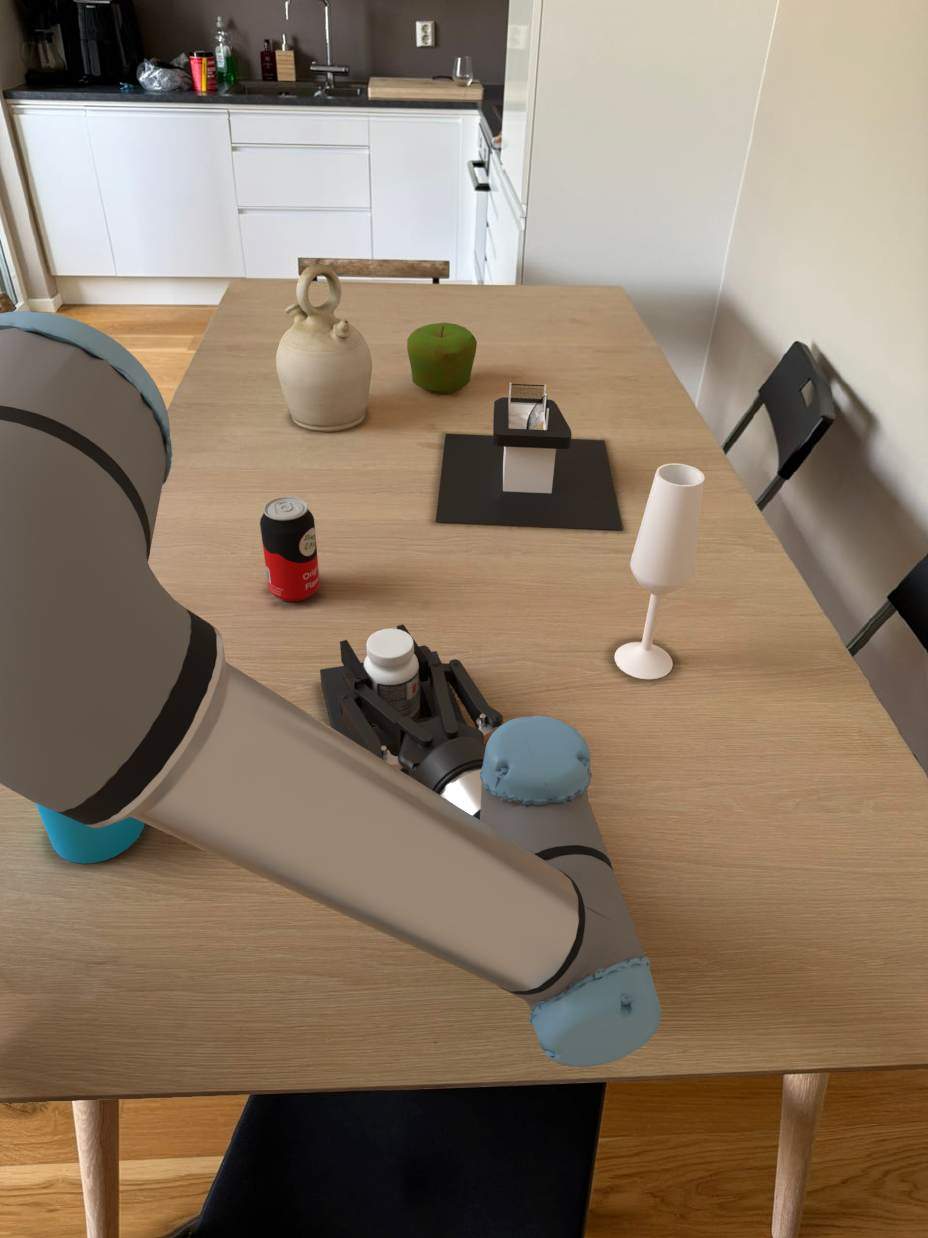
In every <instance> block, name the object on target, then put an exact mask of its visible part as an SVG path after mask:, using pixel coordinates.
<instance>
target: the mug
mask: <svg viewBox="0 0 928 1238" xmlns="http://www.w3.org/2000/svg"><path fill="white" fill-rule="evenodd" d="M34 804H35V806H36V808H37V812H38V813H39V816H40V818H41V821H42V823H43V826H44V828H45V829H44V830H45V831H46V834H47V836H48V838H49V841H50V843H51V846H52V849H53V850H54V851H55V852H56V854H57V855H58V856H59V857H60V858H62V859H64V860H66V861H68V862H70V863H76V864H83V865H85V864H94V863H101V862H104V861H107V860H109V859H112V858H115V857H117V856H119V855H120V854H122V853H124V851H126V850H128V849H129V848H130V847H131V846H132V845H133V844H134V843H135V842H136V841H137V840H138V839H139V837H140V836H141V834H142V832H143V830H144V828H145V824H146V823H144V822H141V821H139V820H137V819H135V818H133V817H128V818H126V819H123V820H121V821H118V822H116V823H113V824H111V825H108V826H104V827H100V828H93V827H90V826H87V825H84V824H82V823H80V822H78V821H75V820H73V819H71V818H69V817H66V816H64V815H62V814H60V813H57V812H55V811H53V810H51V809H48V808H46V807H44V806H41V805H39V804H37V803H35V802H34Z"/></svg>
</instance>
